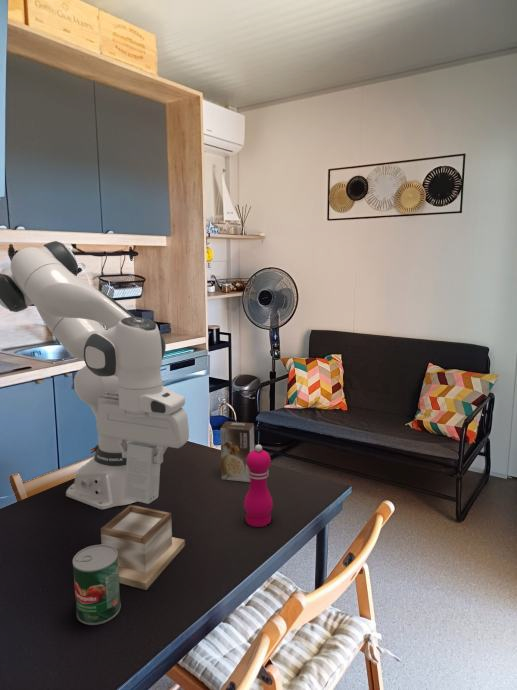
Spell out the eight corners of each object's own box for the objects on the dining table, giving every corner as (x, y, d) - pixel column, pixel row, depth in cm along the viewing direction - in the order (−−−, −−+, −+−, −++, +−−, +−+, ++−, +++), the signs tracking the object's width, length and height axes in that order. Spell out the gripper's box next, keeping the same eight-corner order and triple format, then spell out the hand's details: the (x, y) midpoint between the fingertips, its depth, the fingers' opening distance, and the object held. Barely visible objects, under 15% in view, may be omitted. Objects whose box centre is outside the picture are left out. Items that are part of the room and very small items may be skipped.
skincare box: (158, 497, 106) (162, 443, 105) (148, 504, 102) (152, 448, 101) (134, 492, 108) (138, 438, 107) (123, 498, 104) (126, 443, 103)
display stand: (87, 574, 103) (85, 533, 101) (132, 533, 117) (130, 497, 116) (146, 590, 98) (144, 547, 96) (184, 545, 113) (183, 508, 111)
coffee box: (255, 473, 150) (255, 422, 147) (250, 482, 143) (250, 430, 140) (226, 470, 152) (226, 420, 149) (220, 479, 146) (219, 427, 142)
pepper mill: (269, 529, 119) (270, 451, 116) (240, 526, 121) (240, 449, 117) (274, 514, 126) (275, 440, 123) (247, 511, 128) (247, 438, 124)
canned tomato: (123, 593, 97) (121, 542, 95) (117, 623, 89) (114, 568, 87) (81, 597, 96) (78, 545, 94) (71, 627, 88) (67, 571, 86)
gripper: (88, 395, 102) (91, 458, 104) (177, 407, 95) (178, 474, 98) (107, 387, 108) (109, 447, 110) (192, 398, 101) (192, 461, 104)
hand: (142, 460), depth 104 cm, fingers closed on skincare box, 6 cm apart
